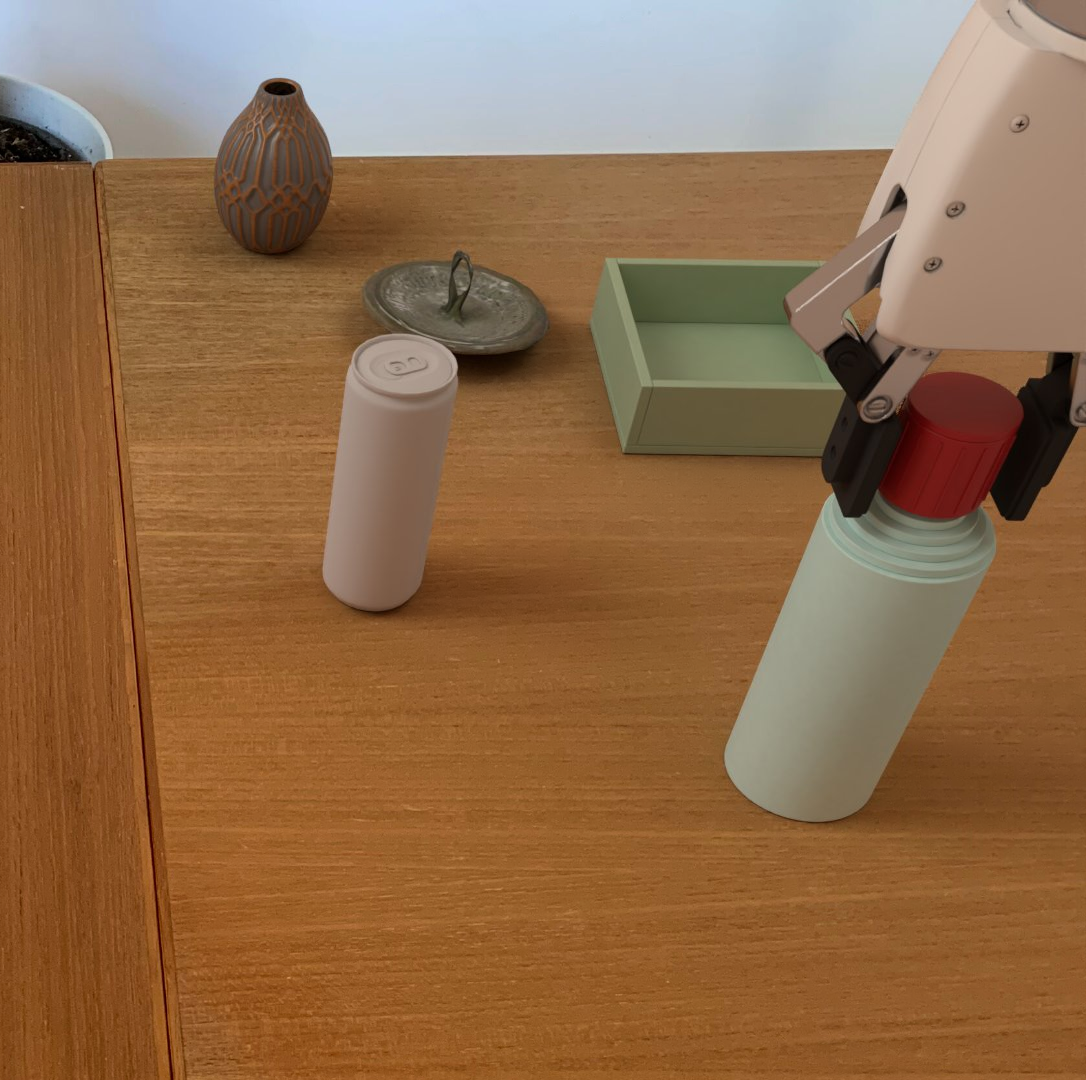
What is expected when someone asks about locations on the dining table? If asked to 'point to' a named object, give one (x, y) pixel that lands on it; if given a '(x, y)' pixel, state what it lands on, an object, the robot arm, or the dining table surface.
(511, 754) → the dining table surface
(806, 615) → the bottle
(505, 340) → the lid
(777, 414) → the bin
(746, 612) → the dining table surface
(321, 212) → the vase
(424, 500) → the beverage can
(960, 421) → the cap
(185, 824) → the dining table surface
